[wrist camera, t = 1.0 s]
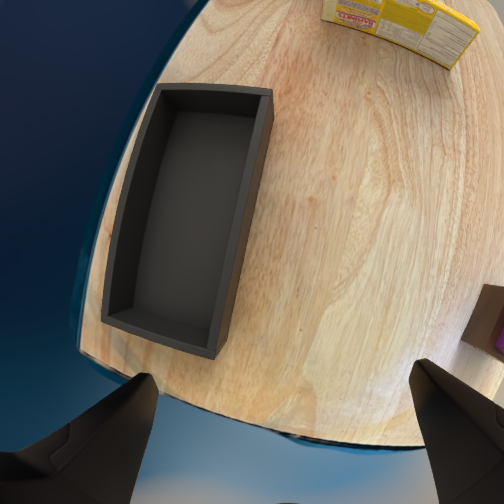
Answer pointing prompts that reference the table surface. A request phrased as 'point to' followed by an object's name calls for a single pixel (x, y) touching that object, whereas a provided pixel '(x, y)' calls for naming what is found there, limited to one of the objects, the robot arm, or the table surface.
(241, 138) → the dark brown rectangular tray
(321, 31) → the table surface
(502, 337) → the purple block
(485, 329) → the walnut block
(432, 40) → the candy box
